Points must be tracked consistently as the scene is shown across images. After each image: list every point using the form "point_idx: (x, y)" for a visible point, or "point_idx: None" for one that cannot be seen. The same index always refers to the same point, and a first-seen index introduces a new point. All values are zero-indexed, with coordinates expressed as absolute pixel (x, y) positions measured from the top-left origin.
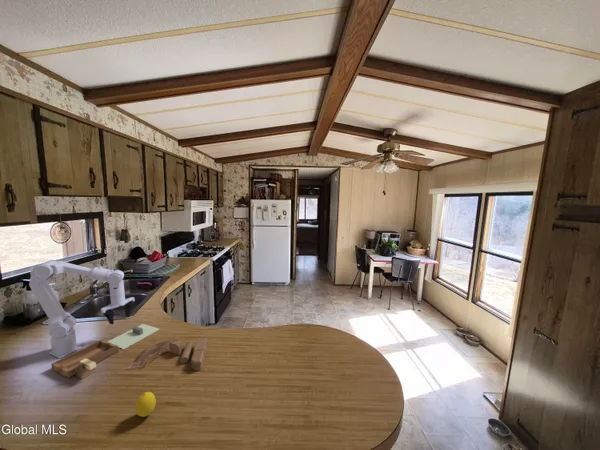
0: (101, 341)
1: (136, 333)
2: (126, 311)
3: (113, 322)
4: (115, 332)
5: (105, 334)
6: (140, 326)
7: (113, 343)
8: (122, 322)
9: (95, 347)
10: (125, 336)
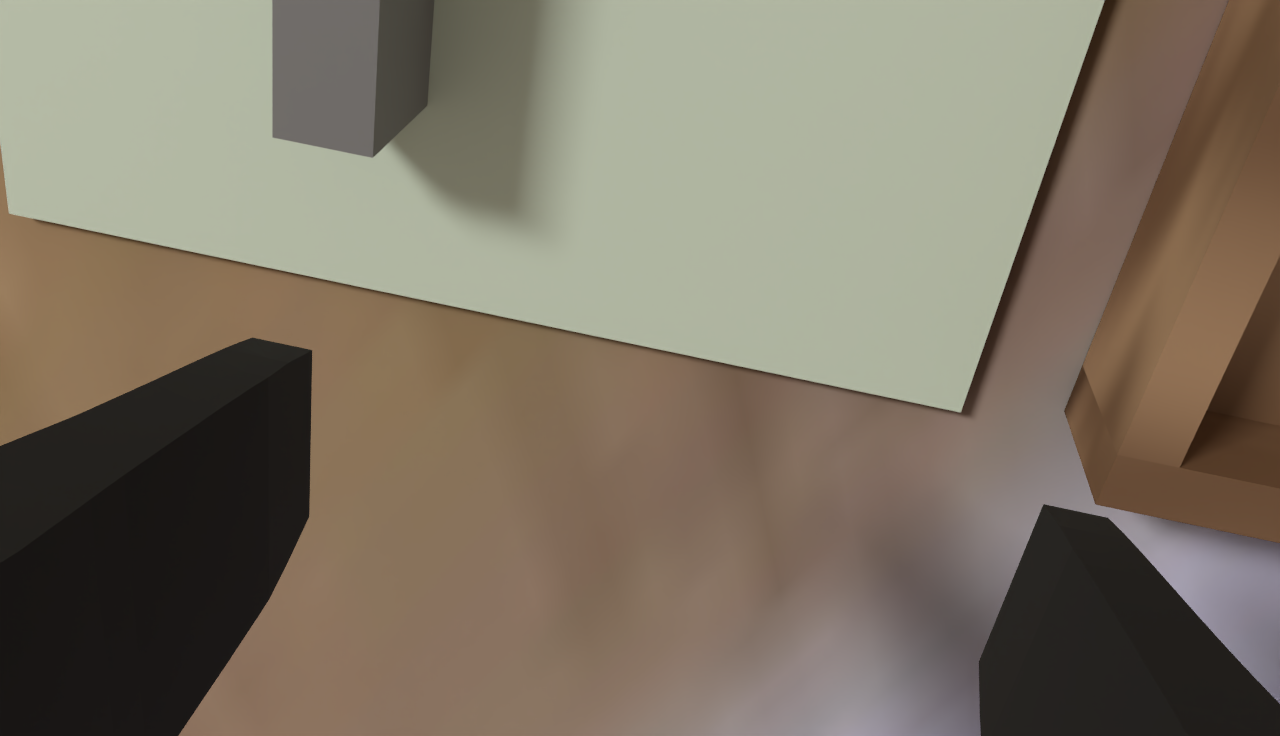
0: (1191, 424)
1: None
2: (162, 665)
3: (1073, 539)
4: (531, 559)
5: (652, 687)
6: (123, 167)
7: (990, 173)
8: (191, 724)
9: (1268, 432)
10: (633, 143)
